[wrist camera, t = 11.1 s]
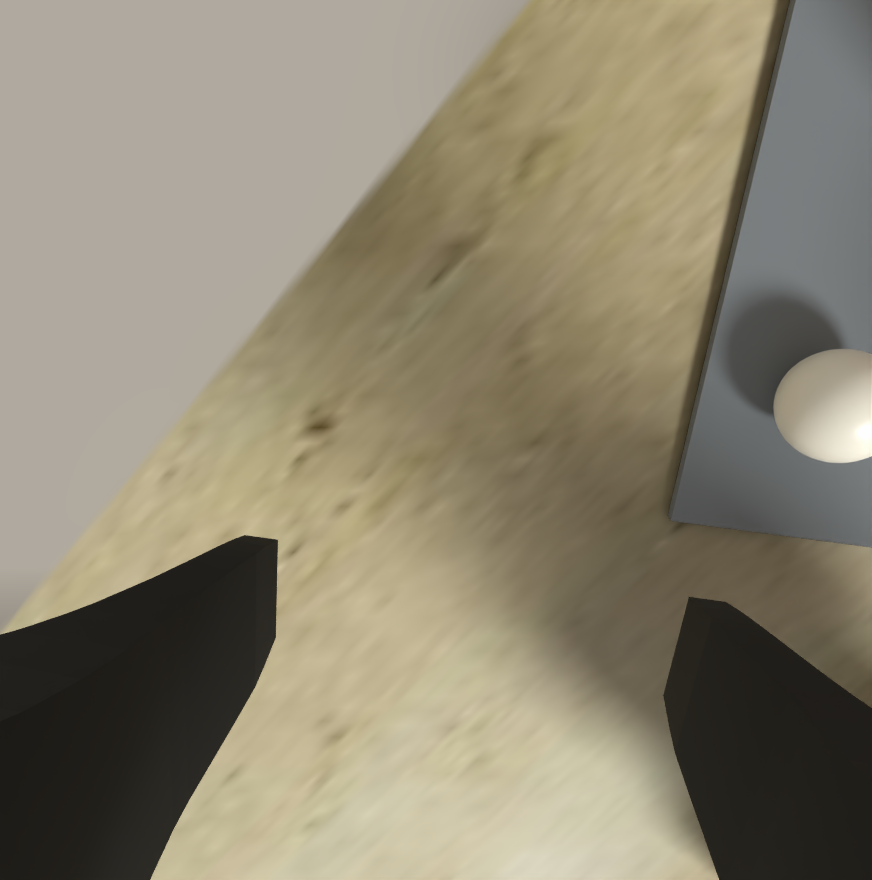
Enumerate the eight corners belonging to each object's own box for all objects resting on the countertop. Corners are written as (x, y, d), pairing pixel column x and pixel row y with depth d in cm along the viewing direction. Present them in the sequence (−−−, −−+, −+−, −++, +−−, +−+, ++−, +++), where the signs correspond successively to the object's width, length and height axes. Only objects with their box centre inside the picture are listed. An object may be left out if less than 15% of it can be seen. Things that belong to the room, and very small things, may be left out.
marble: (849, 448, 18) (913, 487, 16) (744, 435, 19) (788, 471, 16) (882, 347, 17) (956, 368, 15) (771, 334, 18) (823, 353, 15)
